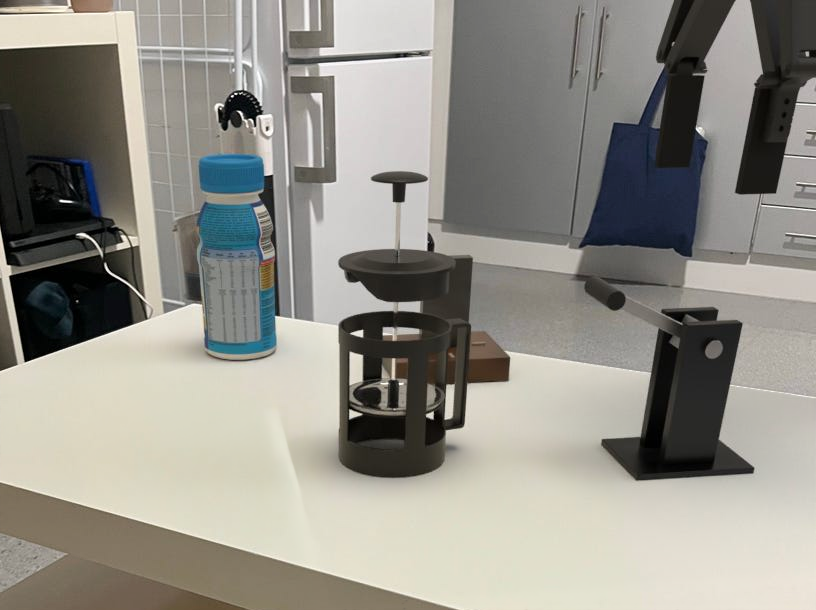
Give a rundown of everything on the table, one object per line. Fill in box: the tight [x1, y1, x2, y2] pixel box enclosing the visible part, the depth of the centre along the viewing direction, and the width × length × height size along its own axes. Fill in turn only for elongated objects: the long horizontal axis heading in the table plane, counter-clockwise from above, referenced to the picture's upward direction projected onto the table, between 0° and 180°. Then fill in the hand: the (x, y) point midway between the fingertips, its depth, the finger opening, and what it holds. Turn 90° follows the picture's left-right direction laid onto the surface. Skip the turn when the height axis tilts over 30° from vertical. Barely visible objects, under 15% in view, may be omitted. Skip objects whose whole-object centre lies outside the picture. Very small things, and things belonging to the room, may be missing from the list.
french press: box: [337, 170, 472, 479], centre depth 80 cm, size 12×9×23 cm
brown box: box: [382, 330, 511, 385], centre depth 109 cm, size 12×10×3 cm
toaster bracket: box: [600, 306, 756, 482], centre depth 82 cm, size 10×8×13 cm
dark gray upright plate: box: [418, 254, 474, 347], centre depth 105 cm, size 5×1×9 cm, turn 98°
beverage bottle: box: [195, 153, 278, 361], centre depth 110 cm, size 8×8×20 cm
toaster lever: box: [583, 275, 699, 348], centre depth 78 cm, size 11×5×2 cm, turn 98°
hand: (710, 179), depth 77 cm, fingers open, 13 cm apart
